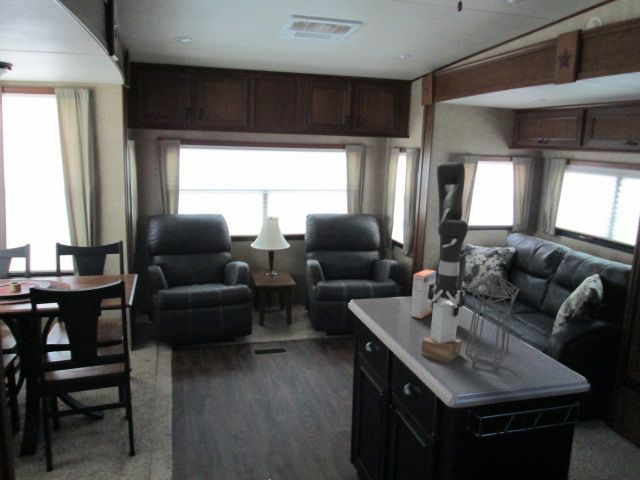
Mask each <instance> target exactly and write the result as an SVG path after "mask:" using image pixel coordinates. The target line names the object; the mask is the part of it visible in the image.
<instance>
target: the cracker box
mask: <svg viewBox="0 0 640 480" xmlns="http://www.w3.org/2000/svg"><path fill="white" fill-rule="evenodd" d="M412 276H413V278H412V290H411V291H412V292H411V293H412V294H411V306H410V317H412V318H415V319H421V320H422V319H423V318H426V317H427V316H428V315H432V313H433V310H432V300H430V299H428V292H429V285H431V284H433V283H434V284H435V285H436V279H437V271H436V270H431V269H427V268H426V269H424V270H421V271H418V272H416V273H414V274H413V275H412ZM435 290H436V289H435ZM435 290H434V296H433V297H435V295H436V293H435V292H436V291H435Z"/></svg>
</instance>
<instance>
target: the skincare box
mask: <svg viewBox="0 0 640 480" xmlns="http://www.w3.org/2000/svg"><path fill="white" fill-rule="evenodd" d="M437 302H438V303H433V312H432V313H431V315H432V316H431V317H432V318H431V326H430V335H429V336H430V338H431V339H432V340H434V341H436V342H437V343H439V344H441V343H446V342H450V341H455V340H456V339H457V338H456V337H457V328H458V327H457V320H458V315H457V316H456V317H453V311H454V307H455V306H454V305H453V303H452V302H451V301H449V300H448V301H443V302H439V301H437Z"/></svg>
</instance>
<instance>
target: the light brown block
mask: <svg viewBox="0 0 640 480" xmlns="http://www.w3.org/2000/svg"><path fill="white" fill-rule="evenodd" d="M430 336H431V335H428V336H427V337H425V338H423V339H422V341H421V351H420V354H421V356H425V357H428V358H431V359H434V360H437V361H440V362H443V363H446V364H448V363H450V362H451V361H453V360H454V359H456V358H457V357H459V356H461V349H462V340H461V339H459V338H458V339H457V338H456V340H455V341H450V342H446V343H441V344H439V343H437V342H436V341H434V340H432V339H431V338H430Z"/></svg>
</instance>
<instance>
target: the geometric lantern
mask: <svg viewBox="0 0 640 480" xmlns="http://www.w3.org/2000/svg"><path fill="white" fill-rule="evenodd" d="M488 282H489V283H488ZM498 282H499V284H500V285H498ZM476 283H477V284H476V285H474V286H472V287H470V288H468V291H470V292H471V293H472V298H473V299H472V301H473V303H472V304H473V309H472V310H473V312H472V313H473V314H472V318H471V323H470V329H469V333H468V338H467V343H466V347H465V352H464V353H465V355H466V356H467V358H468V359H469V360H471V362H472V364H471V368H473V369H477V370H481V371H488V372H496V371H497V368H498V366H499V365H501V364H502V363H503V362H504V360H505V359H506V358H507V357H508V355H509V339H510V337H509V335H510V320H511V319H510V318H511V309H512V307H513V305H514V302H515V300H516V298H517V296H518V293H519V291H520V288H518V287H517V286H516V285H514V284H512V283H510V282H509V281H507V280H506V279H504V277H502V276H500V275H499V274H494V273H493V274H491V275H489V276H487V277H485V278H482V279H481V280H478V281H476ZM482 285H483V286H485V287H486V288H485V289H484V291H482V290H479V289H480V288H479V287H481V286H482ZM509 285H510V286H509ZM490 286H491V287H492V288H491V287H490ZM497 289H502V290H503V291H502V293H499V292H498V293H497ZM488 290H490V291H491V294H490V293H487V291H488ZM480 294H482V296H481V295H480ZM509 295H510V296H509ZM475 296H477V297H478V300H479V302H480V303H479V304H478V305H476V304H475V303H476V302H475V301H476V299H475ZM485 296H488V297H489V298H488V299H487V300H485ZM493 298H499V299H496V300H493ZM507 299H510V300H511V301H510V302H509V303H508V305H507V303H506V301H505V300H507ZM481 300H482V301H481ZM499 301H503V303H504V305H505V307H503V306H496V305H495V303H496V302H499ZM489 303H490V304H489ZM482 306H484V308H483V311H481V309H482ZM487 306H488V307H493V308H494V310H495V312H496V314H492V313H490V312H489V313H487V312H486V308H487ZM497 308H498V309H503V310H504V311H503V314H502V315H501V314H500V313H499V310H498V309H497ZM477 313H478V314H477ZM481 314H482V319H481V327H480V333H479V338H478V339H479V340H478V344H475V341H476V335H477V331H478V325H479V320H480V315H481ZM485 315H489V316H494V317H497V327H496V337H495V338H496V340H495V348H493V347H492V348H491V347H487V346H483V345H481V339H482V333H483V327H484V322H485V321H484V320H485ZM501 318H503V319H502V332H501V334H502V335H501V347H500V348H501V349H498V342H499V340H498V339H499V332H500V331H499V330H500V319H501ZM506 333H507V334H506ZM506 337H507V339H506ZM470 338H471V341H470ZM505 340H506V341H505ZM505 342H506V352H505V351H504V349H505ZM469 344H470V348H469ZM476 348H477V352H476V350H475V349H476ZM480 348H482V349H486V350H492V351H495V352H494V356H489V355H488V356H487V355H483V354H479V353H480V352H479V351H480ZM472 351H473V352H474V354H475V356H473V355H472ZM498 352H499V354H498ZM497 354H498V355H497ZM503 354H504V355H503ZM480 357H481V358H480ZM483 357H484V358H485V357H486V358H488V359H493V361H492V360H488V359H484V358H483ZM499 357H500V358H499ZM478 361H480V362H478ZM482 362H483V363H482ZM485 362H486V363H487V364H486V363H485ZM488 363H492V364H493V365H491V364H488ZM476 364H479V365H483V366H487V367H492V368H491V369H486V368H482V367H476Z"/></svg>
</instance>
